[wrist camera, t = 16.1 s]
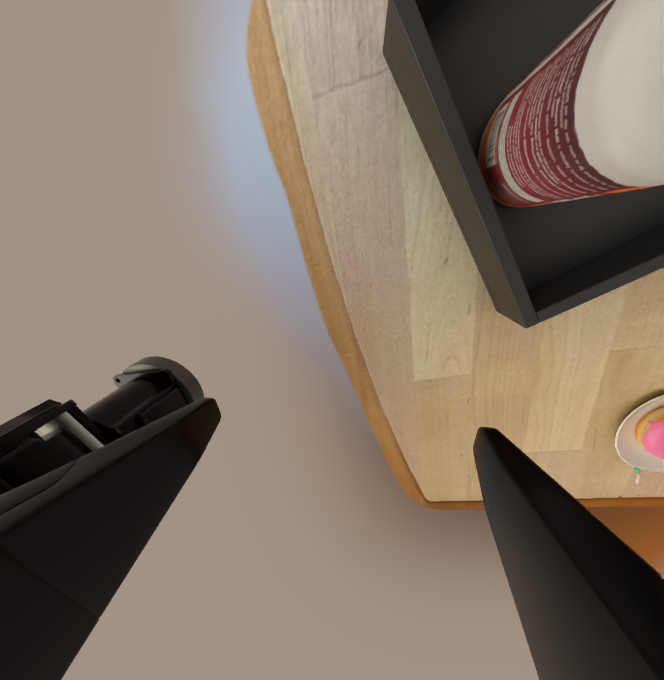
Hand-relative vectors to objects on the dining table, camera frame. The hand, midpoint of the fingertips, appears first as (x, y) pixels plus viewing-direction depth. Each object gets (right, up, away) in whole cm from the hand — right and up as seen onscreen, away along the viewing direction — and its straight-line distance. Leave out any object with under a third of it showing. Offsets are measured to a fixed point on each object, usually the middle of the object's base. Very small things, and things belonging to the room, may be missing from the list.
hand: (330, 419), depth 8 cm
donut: (+29, -6, +13) cm, 32 cm away
